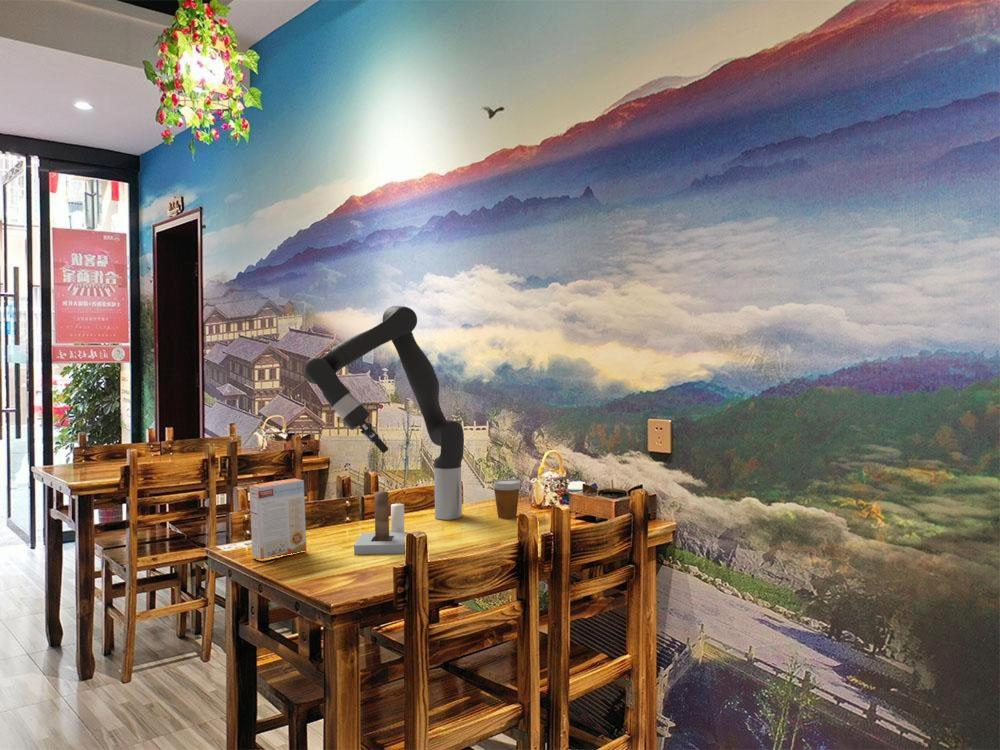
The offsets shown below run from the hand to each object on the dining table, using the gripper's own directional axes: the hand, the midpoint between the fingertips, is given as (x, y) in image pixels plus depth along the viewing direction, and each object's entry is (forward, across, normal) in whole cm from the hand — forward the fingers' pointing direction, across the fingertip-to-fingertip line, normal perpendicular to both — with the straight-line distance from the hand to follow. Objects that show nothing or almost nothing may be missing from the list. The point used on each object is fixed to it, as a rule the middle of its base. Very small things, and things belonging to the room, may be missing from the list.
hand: (385, 451), depth 226 cm
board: (+21, -8, +19) cm, 29 cm away
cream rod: (+22, +2, +14) cm, 27 cm away
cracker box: (+3, -12, +41) cm, 43 cm away
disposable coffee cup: (+44, +22, -16) cm, 51 cm away
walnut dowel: (+21, -8, +19) cm, 29 cm away
